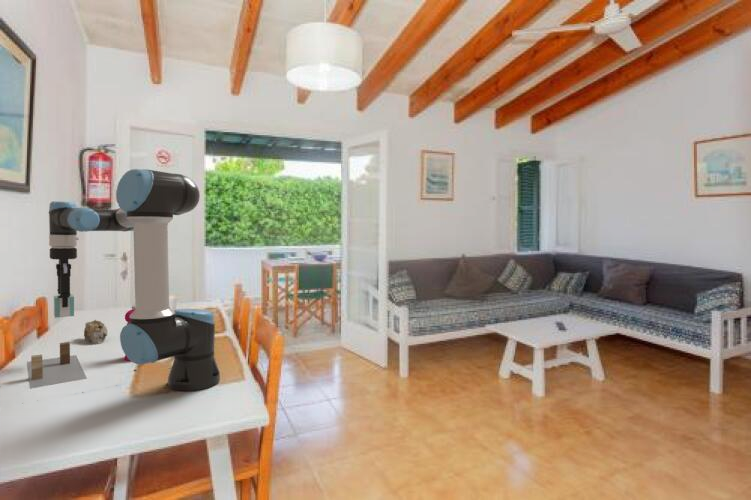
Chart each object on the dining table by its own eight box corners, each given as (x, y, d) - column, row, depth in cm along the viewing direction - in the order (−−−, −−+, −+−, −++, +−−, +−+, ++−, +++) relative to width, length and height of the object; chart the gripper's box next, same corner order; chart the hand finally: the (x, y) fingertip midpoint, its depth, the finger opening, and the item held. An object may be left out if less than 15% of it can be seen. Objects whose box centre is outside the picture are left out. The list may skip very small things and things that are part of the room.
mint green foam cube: (74, 315, 147) (73, 296, 147) (55, 317, 144) (55, 298, 144) (72, 313, 151) (72, 294, 151) (53, 314, 148) (53, 295, 148)
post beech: (42, 378, 134) (42, 356, 134) (31, 380, 132) (31, 357, 132) (42, 376, 136) (41, 354, 136) (31, 377, 134) (31, 355, 134)
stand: (87, 380, 135) (87, 378, 135) (29, 390, 126) (29, 388, 126) (76, 356, 158) (76, 354, 158) (27, 363, 149) (27, 361, 149)
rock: (112, 339, 178) (105, 316, 178) (94, 344, 173) (87, 320, 173) (104, 342, 186) (97, 320, 186) (86, 348, 181) (80, 325, 181)
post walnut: (70, 363, 148) (69, 343, 148) (60, 365, 147) (60, 344, 146) (69, 361, 150) (69, 341, 150) (60, 363, 149) (59, 343, 148)
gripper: (80, 248, 142) (80, 318, 143) (73, 245, 156) (74, 309, 157) (51, 249, 137) (52, 321, 138) (47, 245, 151) (48, 311, 152)
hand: (63, 314), depth 148 cm, fingers closed on mint green foam cube, 5 cm apart
